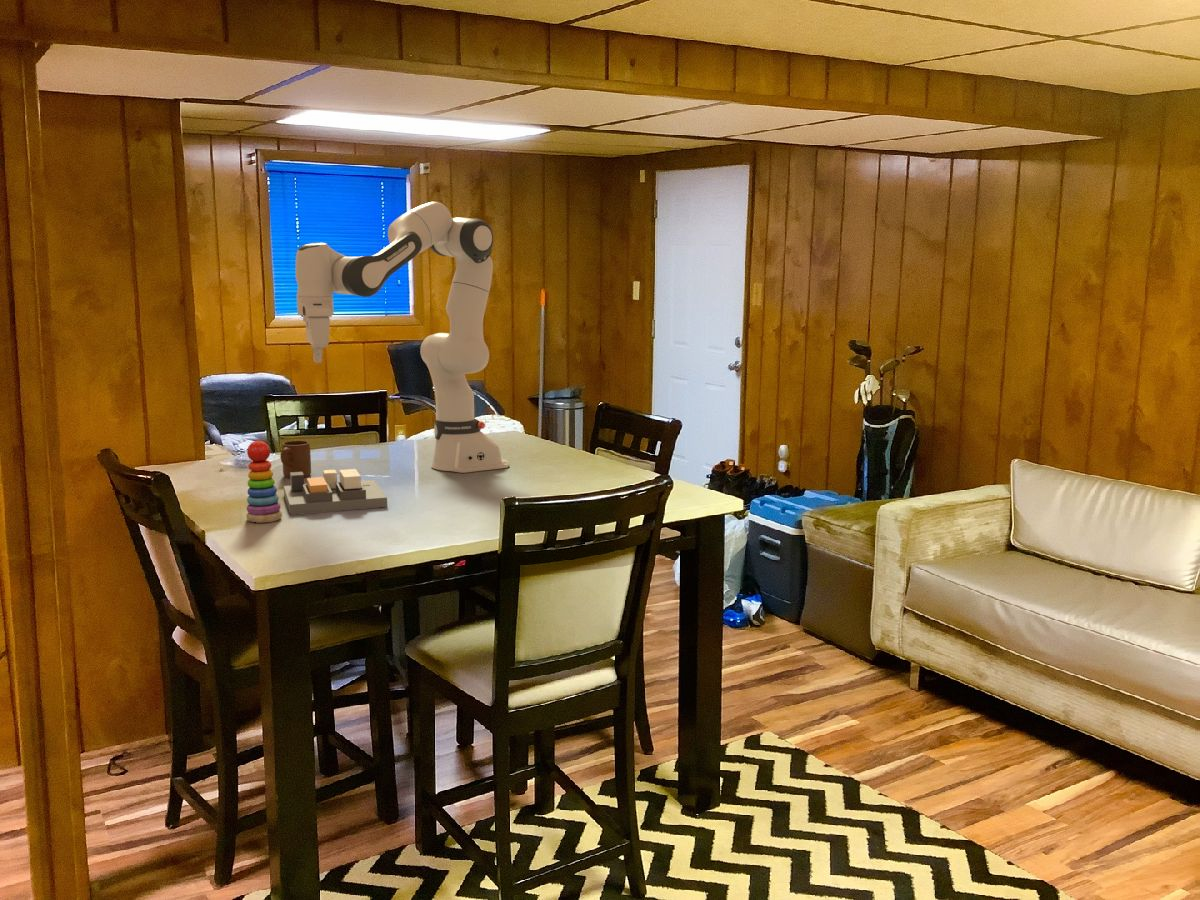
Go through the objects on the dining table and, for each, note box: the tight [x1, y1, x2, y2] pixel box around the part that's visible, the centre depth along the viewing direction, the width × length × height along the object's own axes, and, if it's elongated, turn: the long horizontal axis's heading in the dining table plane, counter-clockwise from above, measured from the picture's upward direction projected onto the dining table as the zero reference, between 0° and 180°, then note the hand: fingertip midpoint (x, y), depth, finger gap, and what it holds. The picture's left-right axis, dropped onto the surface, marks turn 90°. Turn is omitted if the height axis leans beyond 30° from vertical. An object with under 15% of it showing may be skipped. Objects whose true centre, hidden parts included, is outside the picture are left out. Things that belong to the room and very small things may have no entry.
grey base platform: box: [283, 479, 388, 516], centre depth 255 cm, size 23×21×5 cm
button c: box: [306, 476, 328, 493], centre depth 249 cm, size 4×9×3 cm, turn 21°
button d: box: [339, 468, 362, 489], centre depth 251 cm, size 4×9×3 cm, turn 21°
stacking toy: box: [245, 440, 283, 524], centre depth 236 cm, size 8×8×19 cm
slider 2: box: [322, 469, 338, 489], centre depth 259 cm, size 3×4×4 cm
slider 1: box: [289, 472, 305, 491], centre depth 256 cm, size 3×4×4 cm
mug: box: [279, 440, 312, 479], centre depth 281 cm, size 12×8×9 cm, turn 170°
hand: (317, 362), depth 260 cm, fingers closed
